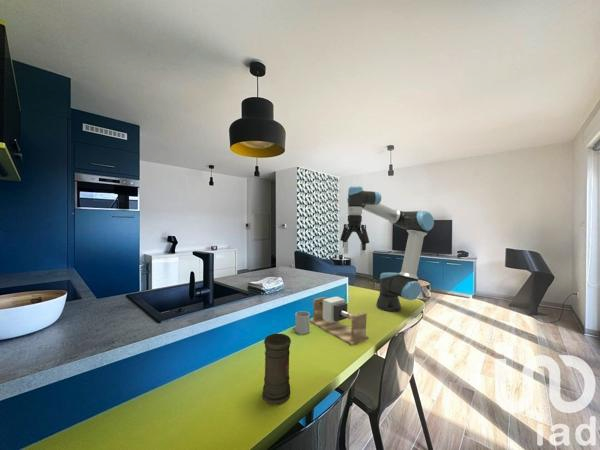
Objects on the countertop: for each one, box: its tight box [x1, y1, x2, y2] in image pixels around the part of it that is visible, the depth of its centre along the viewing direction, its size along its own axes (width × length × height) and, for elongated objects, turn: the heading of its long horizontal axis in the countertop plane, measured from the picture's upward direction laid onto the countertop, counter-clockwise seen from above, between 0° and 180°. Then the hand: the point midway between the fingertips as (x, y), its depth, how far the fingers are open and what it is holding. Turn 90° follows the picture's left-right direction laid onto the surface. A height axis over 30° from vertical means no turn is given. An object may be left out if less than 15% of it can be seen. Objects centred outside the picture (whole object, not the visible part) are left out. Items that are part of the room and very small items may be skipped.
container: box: [262, 333, 292, 406], centre depth 77 cm, size 9×9×18 cm
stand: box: [310, 296, 369, 346], centre depth 125 cm, size 30×12×12 cm, turn 36°
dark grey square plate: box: [334, 302, 348, 322], centre depth 123 cm, size 2×8×8 cm, turn 126°
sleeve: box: [323, 296, 346, 323], centre depth 127 cm, size 6×10×10 cm, turn 126°
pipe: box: [320, 301, 354, 321], centre depth 125 cm, size 28×3×3 cm, turn 36°
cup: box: [294, 310, 311, 335], centre depth 124 cm, size 7×10×9 cm
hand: (353, 255), depth 132 cm, fingers open, 11 cm apart
